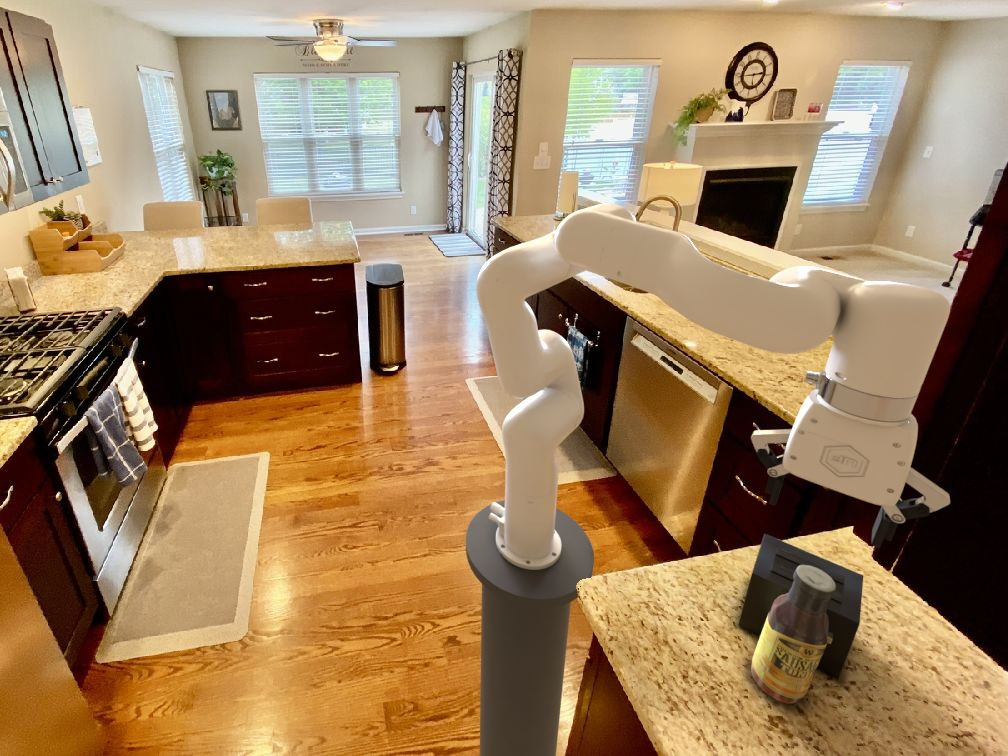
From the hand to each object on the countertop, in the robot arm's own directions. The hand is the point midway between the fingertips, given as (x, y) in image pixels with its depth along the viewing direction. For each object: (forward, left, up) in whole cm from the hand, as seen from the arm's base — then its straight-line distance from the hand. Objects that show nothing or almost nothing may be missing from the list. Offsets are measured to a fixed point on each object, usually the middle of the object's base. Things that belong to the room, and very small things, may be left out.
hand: (821, 518), depth 59 cm
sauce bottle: (+1, 0, -29) cm, 29 cm away
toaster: (+1, +11, -29) cm, 31 cm away
